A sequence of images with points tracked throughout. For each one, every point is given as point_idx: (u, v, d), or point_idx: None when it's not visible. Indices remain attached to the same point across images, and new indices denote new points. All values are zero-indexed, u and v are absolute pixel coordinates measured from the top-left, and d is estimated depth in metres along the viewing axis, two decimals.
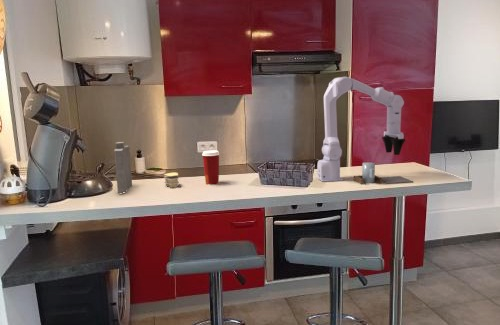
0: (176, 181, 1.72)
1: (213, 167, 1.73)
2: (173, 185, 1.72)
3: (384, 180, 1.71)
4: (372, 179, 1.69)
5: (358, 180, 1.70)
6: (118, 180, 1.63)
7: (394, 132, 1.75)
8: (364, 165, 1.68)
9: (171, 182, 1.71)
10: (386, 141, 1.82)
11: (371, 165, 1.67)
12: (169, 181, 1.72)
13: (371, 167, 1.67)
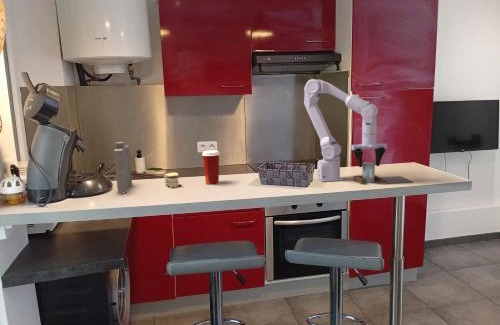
0: (176, 181, 1.72)
1: (213, 167, 1.73)
2: (173, 185, 1.72)
3: (384, 180, 1.71)
4: (372, 179, 1.69)
5: (358, 180, 1.70)
6: (118, 180, 1.63)
7: None
8: (364, 165, 1.68)
9: (171, 182, 1.71)
10: (376, 153, 1.71)
11: (371, 165, 1.67)
12: (169, 181, 1.72)
13: (371, 167, 1.67)
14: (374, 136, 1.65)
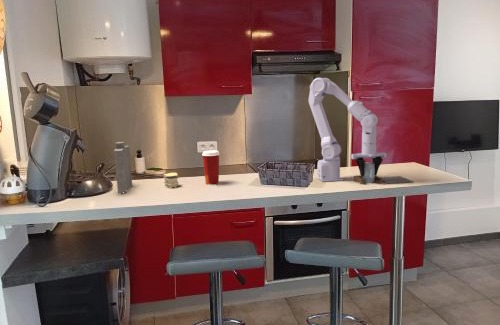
0: (175, 181, 1.72)
1: (213, 167, 1.73)
2: (172, 185, 1.71)
3: (384, 180, 1.71)
4: (372, 179, 1.69)
5: (358, 180, 1.70)
6: (118, 180, 1.63)
7: None
8: (364, 165, 1.68)
9: (170, 182, 1.71)
10: (373, 162, 1.71)
11: (371, 165, 1.67)
12: (168, 181, 1.71)
13: (371, 167, 1.67)
14: (374, 145, 1.66)
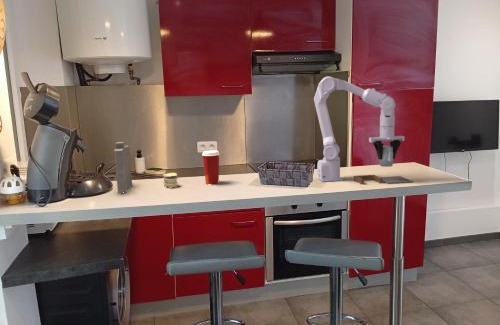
0: (175, 181, 1.72)
1: (213, 167, 1.73)
2: (172, 185, 1.71)
3: (384, 180, 1.71)
4: (390, 162, 1.68)
5: (358, 180, 1.70)
6: (118, 180, 1.63)
7: None
8: None
9: (170, 182, 1.70)
10: None
11: (389, 148, 1.67)
12: (168, 181, 1.71)
13: (389, 150, 1.67)
14: (392, 128, 1.66)
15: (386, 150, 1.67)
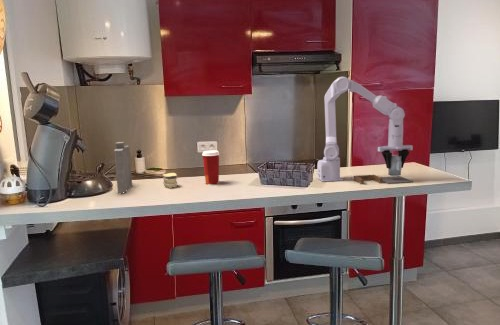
0: (175, 181, 1.71)
1: (213, 167, 1.73)
2: (172, 185, 1.71)
3: (384, 180, 1.71)
4: (399, 171, 1.69)
5: (358, 180, 1.70)
6: (118, 180, 1.63)
7: (388, 145, 1.70)
8: (391, 158, 1.69)
9: (170, 182, 1.70)
10: None
11: (398, 157, 1.68)
12: (168, 181, 1.71)
13: (398, 159, 1.68)
14: (401, 138, 1.67)
15: (395, 159, 1.68)
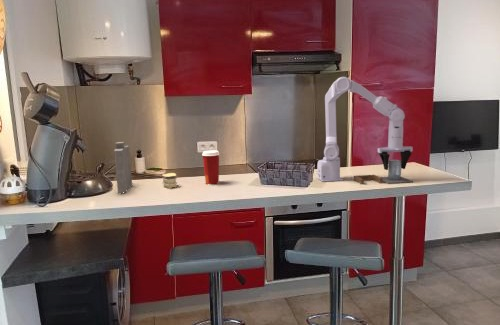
0: (174, 182, 1.71)
1: (213, 167, 1.73)
2: (171, 186, 1.71)
3: (384, 180, 1.71)
4: (398, 176, 1.70)
5: (358, 180, 1.70)
6: (118, 180, 1.63)
7: (388, 146, 1.70)
8: (390, 162, 1.70)
9: (169, 183, 1.70)
10: (401, 156, 1.72)
11: (397, 162, 1.69)
12: (167, 182, 1.71)
13: (397, 164, 1.69)
14: (401, 139, 1.67)
15: (394, 164, 1.69)
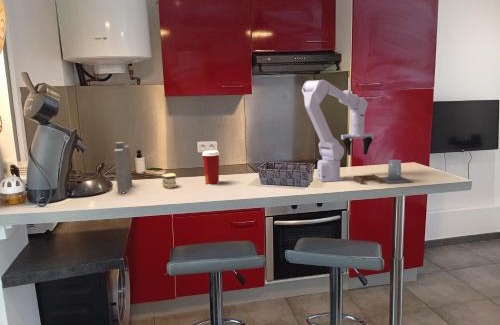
0: (174, 182, 1.71)
1: (213, 167, 1.73)
2: (171, 186, 1.70)
3: (384, 180, 1.71)
4: (398, 176, 1.70)
5: (358, 180, 1.70)
6: (118, 180, 1.63)
7: None
8: (390, 162, 1.70)
9: (169, 183, 1.70)
10: (364, 143, 1.85)
11: (397, 162, 1.69)
12: (167, 182, 1.70)
13: (397, 164, 1.69)
14: (362, 126, 1.80)
15: (394, 164, 1.69)
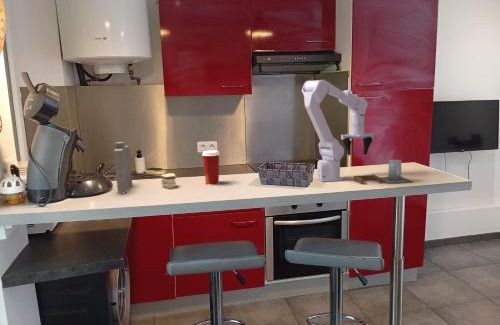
0: (173, 182, 1.71)
1: (213, 167, 1.73)
2: (170, 186, 1.70)
3: (384, 180, 1.71)
4: (398, 176, 1.70)
5: (358, 180, 1.70)
6: (118, 180, 1.63)
7: None
8: (391, 162, 1.70)
9: (168, 183, 1.70)
10: (364, 143, 1.85)
11: (398, 162, 1.69)
12: (166, 182, 1.70)
13: (398, 164, 1.69)
14: (362, 126, 1.80)
15: (394, 164, 1.69)
